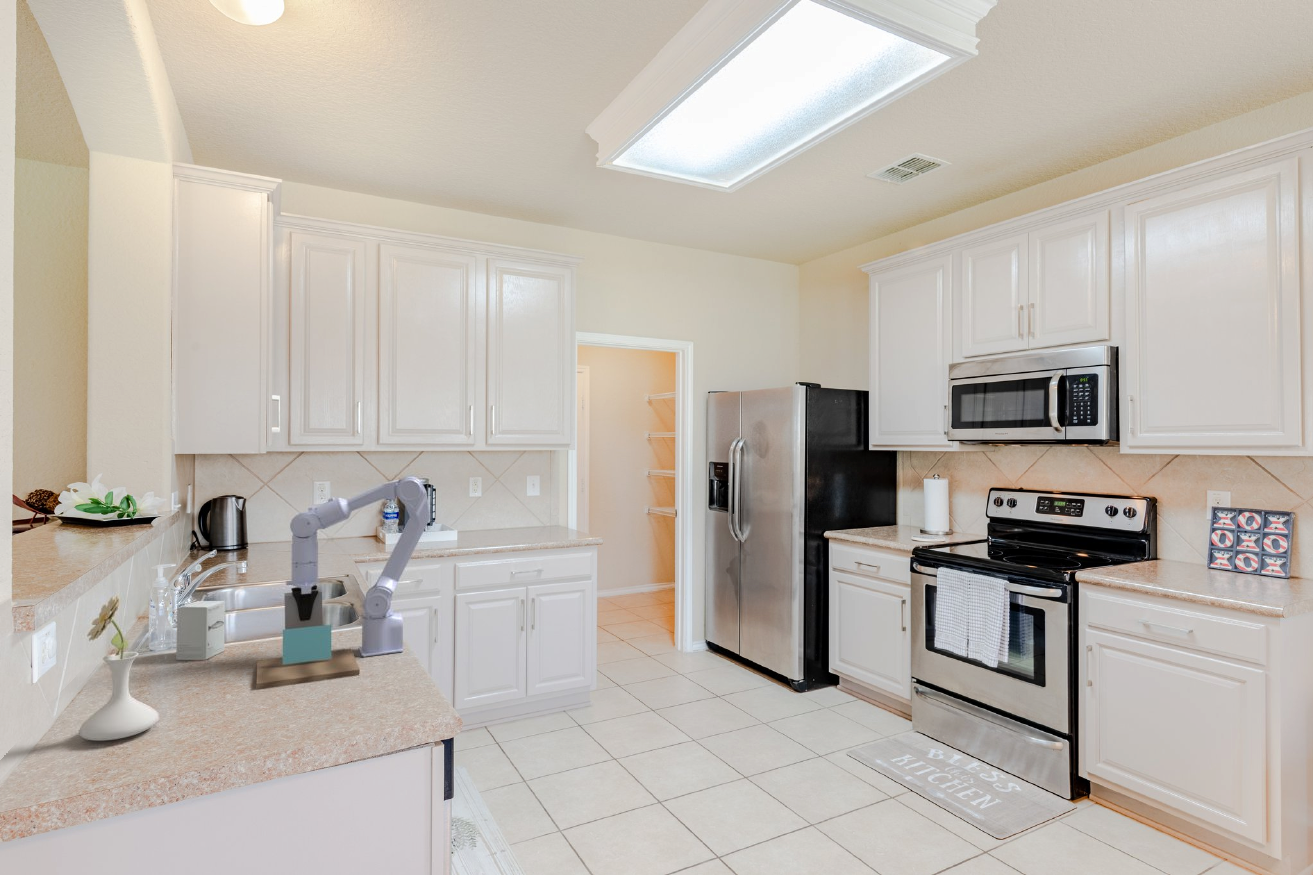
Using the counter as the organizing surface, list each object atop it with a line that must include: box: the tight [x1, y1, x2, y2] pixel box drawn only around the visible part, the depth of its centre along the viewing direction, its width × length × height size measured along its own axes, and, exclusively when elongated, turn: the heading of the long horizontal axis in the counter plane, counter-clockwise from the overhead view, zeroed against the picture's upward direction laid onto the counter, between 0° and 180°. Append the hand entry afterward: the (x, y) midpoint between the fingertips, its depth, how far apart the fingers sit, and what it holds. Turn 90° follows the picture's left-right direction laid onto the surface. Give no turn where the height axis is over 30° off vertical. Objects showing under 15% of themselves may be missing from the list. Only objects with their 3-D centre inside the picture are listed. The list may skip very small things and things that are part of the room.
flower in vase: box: [78, 595, 160, 742], centre depth 124 cm, size 13×11×25 cm
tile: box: [282, 624, 332, 665], centre depth 162 cm, size 10×8×1 cm
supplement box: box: [175, 600, 226, 661], centre depth 171 cm, size 7×7×13 cm
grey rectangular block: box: [283, 588, 324, 630], centre depth 170 cm, size 8×4×9 cm, turn 119°
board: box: [256, 648, 361, 690], centre depth 160 cm, size 20×18×1 cm
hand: (304, 618), depth 170 cm, fingers closed on grey rectangular block, 3 cm apart
